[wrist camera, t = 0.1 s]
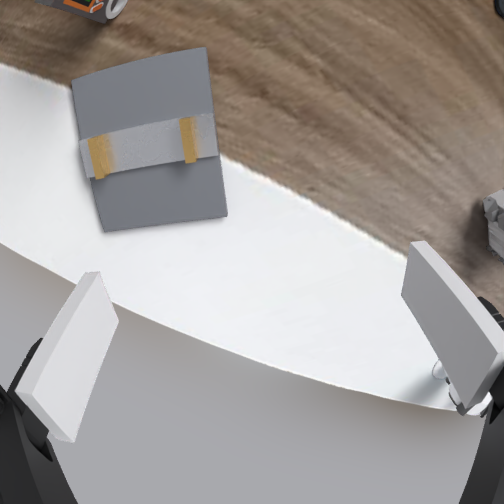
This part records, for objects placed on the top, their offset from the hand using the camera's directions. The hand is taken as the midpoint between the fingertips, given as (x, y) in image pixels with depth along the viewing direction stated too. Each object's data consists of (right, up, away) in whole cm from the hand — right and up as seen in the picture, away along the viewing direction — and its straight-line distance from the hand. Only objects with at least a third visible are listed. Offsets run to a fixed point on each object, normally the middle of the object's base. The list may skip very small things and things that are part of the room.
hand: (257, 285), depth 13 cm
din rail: (-13, +14, +22) cm, 29 cm away
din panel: (-13, +15, +24) cm, 31 cm away
